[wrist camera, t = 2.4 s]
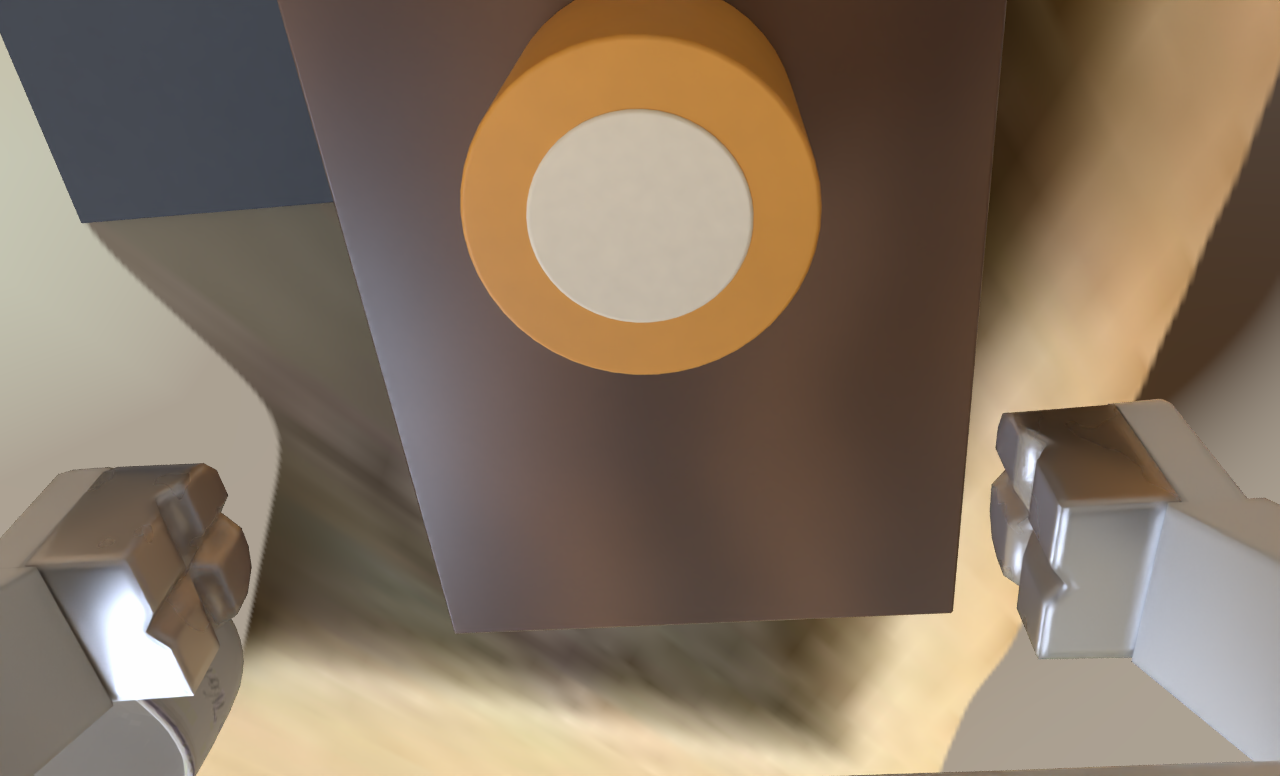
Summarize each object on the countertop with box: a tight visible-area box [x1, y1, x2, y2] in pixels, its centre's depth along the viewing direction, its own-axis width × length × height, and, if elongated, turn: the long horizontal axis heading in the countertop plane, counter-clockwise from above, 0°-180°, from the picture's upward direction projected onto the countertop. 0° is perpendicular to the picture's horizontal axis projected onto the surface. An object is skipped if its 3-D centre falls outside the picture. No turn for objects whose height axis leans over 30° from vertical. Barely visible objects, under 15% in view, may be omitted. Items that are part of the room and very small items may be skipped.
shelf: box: [277, 0, 1007, 634], centre depth 27 cm, size 14×20×12 cm
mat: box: [0, 0, 334, 223], centre depth 31 cm, size 12×12×1 cm
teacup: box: [33, 619, 244, 776], centre depth 41 cm, size 14×11×8 cm
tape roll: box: [460, 0, 822, 375], centre depth 18 cm, size 6×6×5 cm
